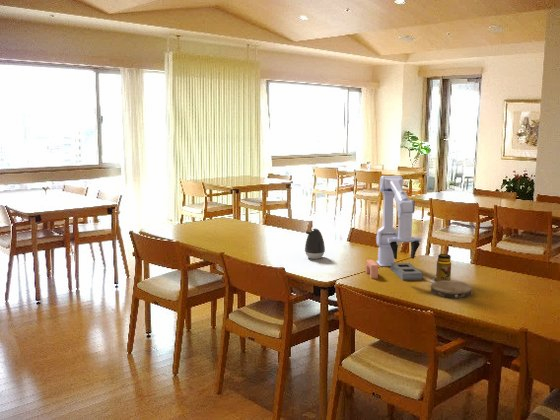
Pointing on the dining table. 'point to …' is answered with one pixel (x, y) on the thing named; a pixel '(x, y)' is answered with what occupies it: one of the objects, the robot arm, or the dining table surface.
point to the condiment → (443, 268)
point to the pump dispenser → (314, 244)
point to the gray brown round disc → (451, 289)
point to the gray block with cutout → (406, 271)
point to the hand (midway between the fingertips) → (403, 258)
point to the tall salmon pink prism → (372, 268)
